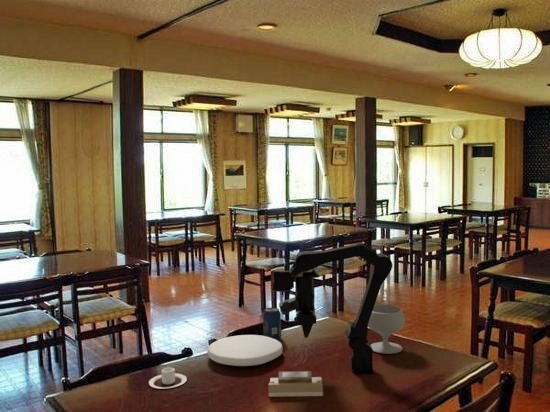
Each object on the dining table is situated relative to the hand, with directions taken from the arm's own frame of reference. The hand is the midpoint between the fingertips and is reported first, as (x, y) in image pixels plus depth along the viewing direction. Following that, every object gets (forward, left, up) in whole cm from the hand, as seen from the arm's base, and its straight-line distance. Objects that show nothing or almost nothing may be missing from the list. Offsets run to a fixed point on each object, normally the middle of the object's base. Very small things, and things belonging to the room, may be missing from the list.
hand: (306, 337), depth 174 cm
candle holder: (+45, +6, -12) cm, 47 cm away
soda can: (+13, -34, -12) cm, 38 cm away
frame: (+4, +14, -10) cm, 18 cm away
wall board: (+4, +13, -12) cm, 18 cm away
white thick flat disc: (+22, -14, -12) cm, 29 cm away
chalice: (-29, -21, -12) cm, 38 cm away
